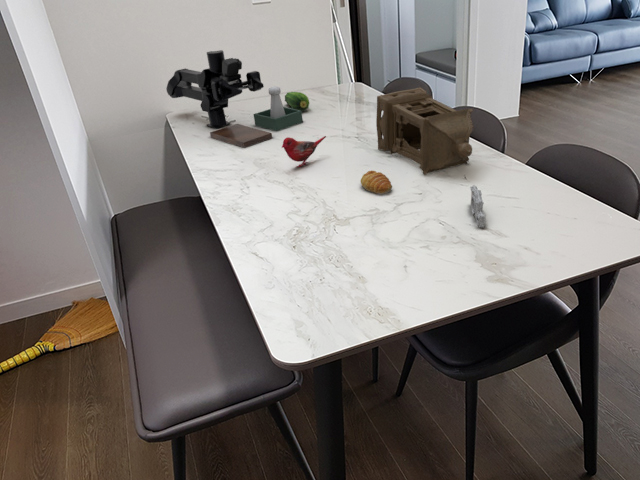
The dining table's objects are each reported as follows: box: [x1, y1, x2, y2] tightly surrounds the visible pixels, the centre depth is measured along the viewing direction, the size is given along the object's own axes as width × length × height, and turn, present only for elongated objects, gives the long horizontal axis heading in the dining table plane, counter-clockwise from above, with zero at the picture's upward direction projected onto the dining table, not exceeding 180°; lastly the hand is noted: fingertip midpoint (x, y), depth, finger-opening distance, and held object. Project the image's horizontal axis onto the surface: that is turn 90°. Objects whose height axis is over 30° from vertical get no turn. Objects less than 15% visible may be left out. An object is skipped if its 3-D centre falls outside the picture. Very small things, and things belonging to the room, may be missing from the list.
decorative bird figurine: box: [281, 135, 327, 168], centre depth 158 cm, size 3×18×10 cm, turn 137°
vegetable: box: [284, 91, 310, 112], centre depth 214 cm, size 7×7×20 cm
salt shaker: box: [268, 86, 286, 118], centre depth 195 cm, size 6×6×13 cm
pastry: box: [360, 170, 393, 195], centre depth 141 cm, size 9×7×4 cm
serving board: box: [209, 123, 273, 149], centre depth 187 cm, size 20×12×2 cm, turn 46°
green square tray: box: [252, 106, 304, 132], centre depth 197 cm, size 13×13×4 cm
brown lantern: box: [375, 86, 474, 176], centre depth 152 cm, size 35×18×18 cm, turn 26°
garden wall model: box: [469, 184, 486, 228], centre depth 123 cm, size 12×2×6 cm, turn 178°
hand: (252, 88), depth 178 cm, fingers open, 9 cm apart
